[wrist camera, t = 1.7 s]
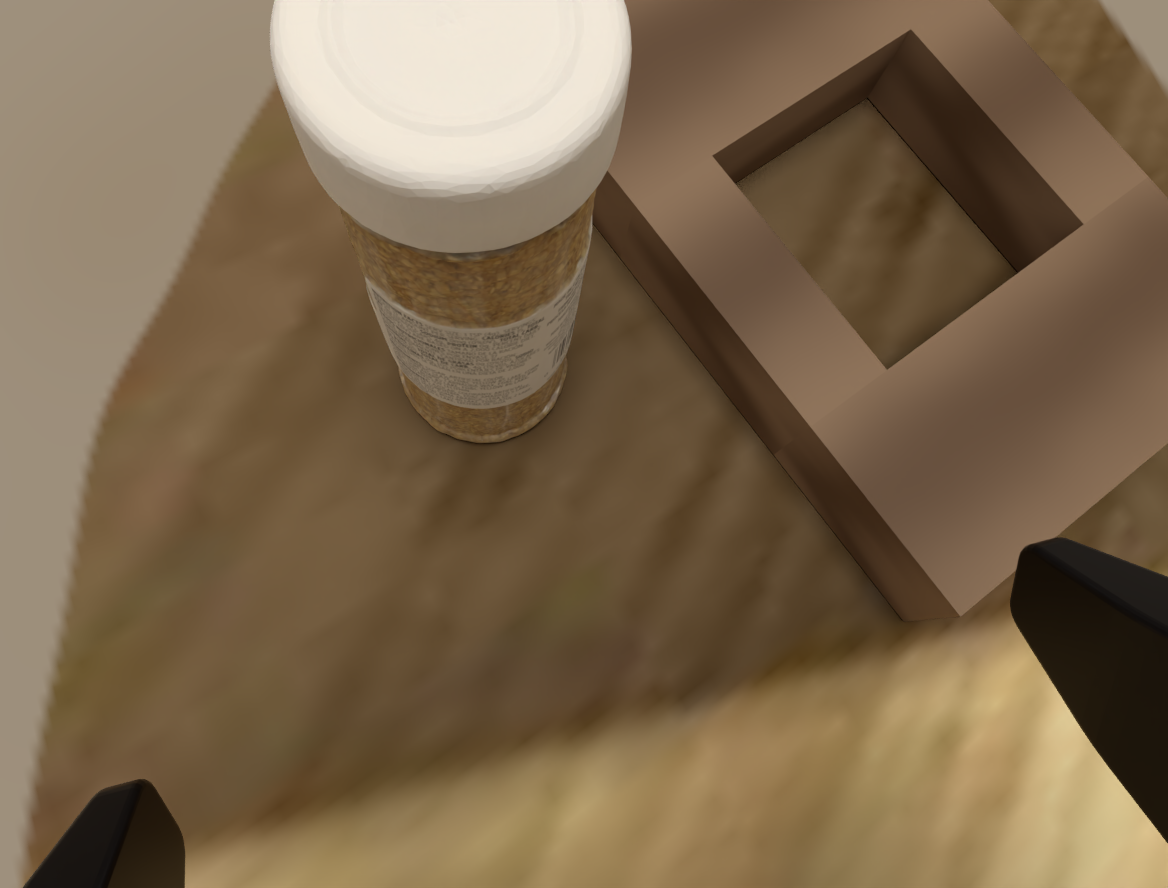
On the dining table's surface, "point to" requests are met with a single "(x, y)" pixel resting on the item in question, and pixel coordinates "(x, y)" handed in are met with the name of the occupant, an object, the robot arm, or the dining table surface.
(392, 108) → the sprinkles bottle
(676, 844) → the dining table surface
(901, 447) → the socket block
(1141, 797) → the robot arm
